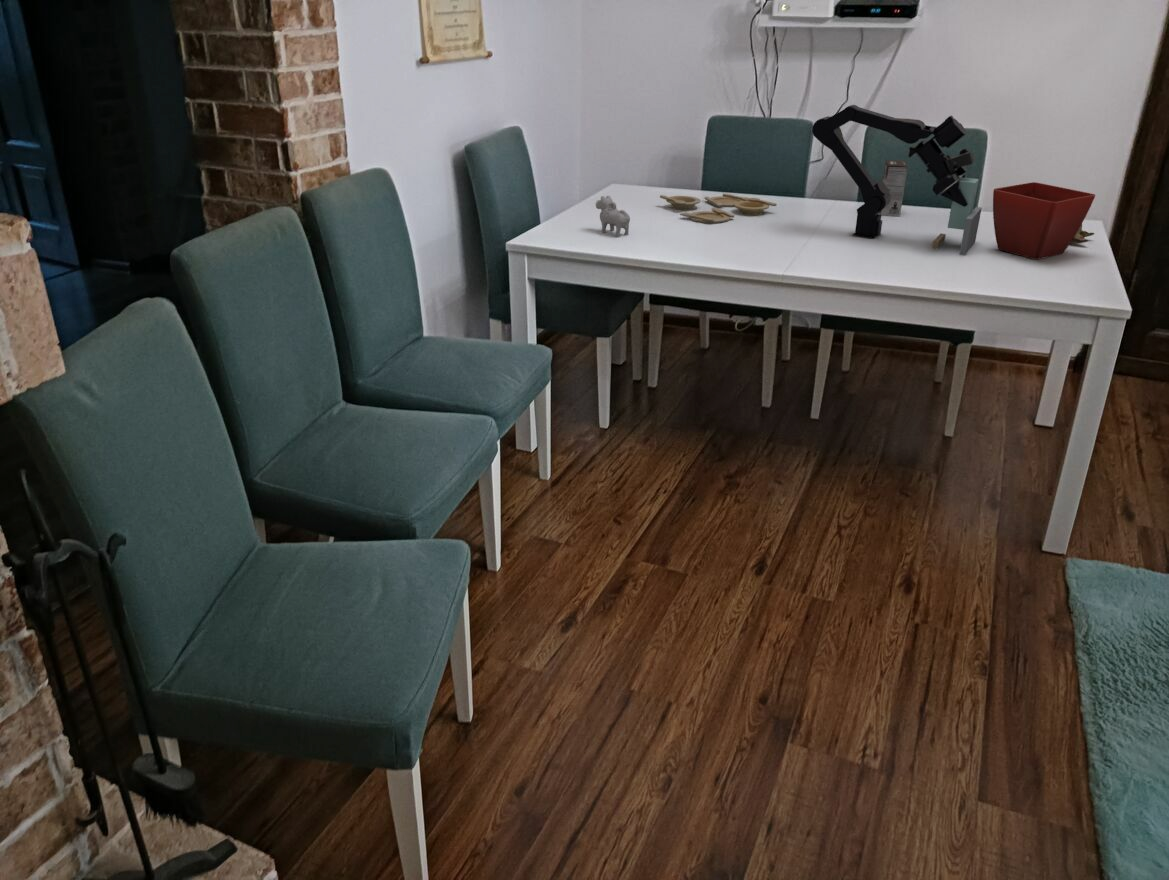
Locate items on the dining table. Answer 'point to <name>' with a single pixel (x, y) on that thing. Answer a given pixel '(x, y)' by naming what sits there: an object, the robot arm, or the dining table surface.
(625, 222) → the dog figurine
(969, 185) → the cabinet box
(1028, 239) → the plant pot
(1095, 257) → the dining table surface
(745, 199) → the tableware set
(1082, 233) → the ceramic sculpture
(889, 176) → the coffee box
